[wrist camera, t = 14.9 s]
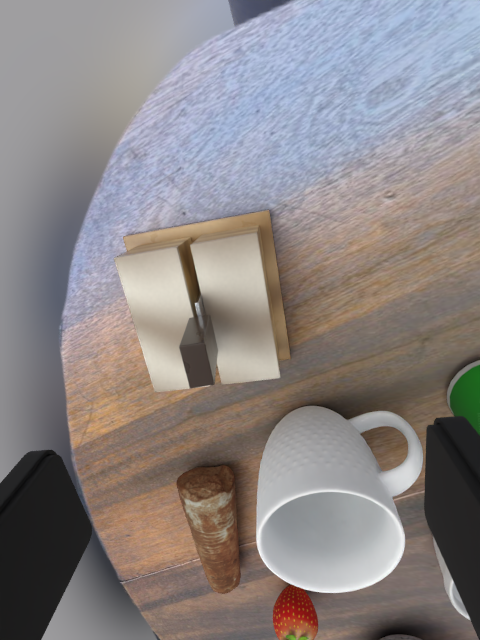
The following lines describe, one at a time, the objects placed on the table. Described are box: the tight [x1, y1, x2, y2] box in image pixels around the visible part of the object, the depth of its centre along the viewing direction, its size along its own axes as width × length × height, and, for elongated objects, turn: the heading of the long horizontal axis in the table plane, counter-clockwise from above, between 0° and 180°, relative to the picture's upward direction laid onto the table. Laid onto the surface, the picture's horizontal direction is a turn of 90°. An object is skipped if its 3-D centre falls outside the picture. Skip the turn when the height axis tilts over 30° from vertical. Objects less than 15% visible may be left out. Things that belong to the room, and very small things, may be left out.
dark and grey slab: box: [179, 290, 218, 388], centre depth 28 cm, size 5×2×12 cm, turn 10°
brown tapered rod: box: [177, 465, 241, 594], centre depth 42 cm, size 6×19×6 cm, turn 4°
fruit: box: [273, 585, 318, 640], centre depth 44 cm, size 5×5×8 cm
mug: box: [256, 406, 423, 593], centre depth 32 cm, size 15×11×13 cm
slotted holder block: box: [114, 210, 291, 392], centre depth 31 cm, size 14×13×6 cm
